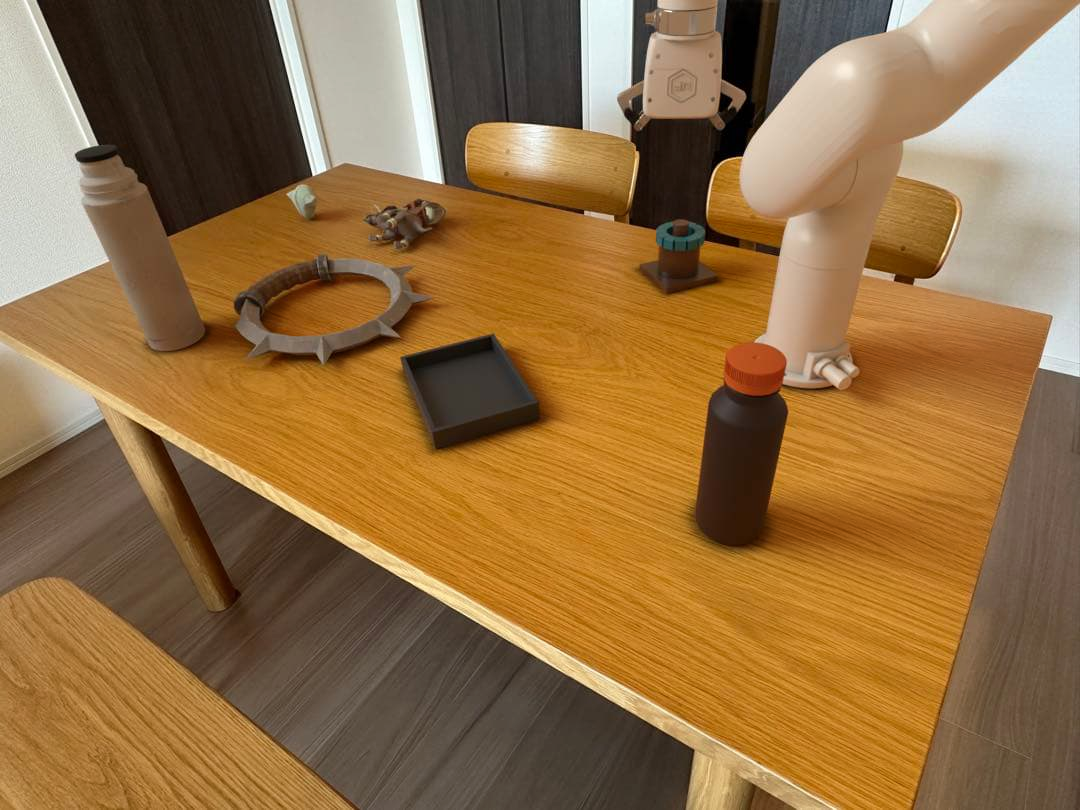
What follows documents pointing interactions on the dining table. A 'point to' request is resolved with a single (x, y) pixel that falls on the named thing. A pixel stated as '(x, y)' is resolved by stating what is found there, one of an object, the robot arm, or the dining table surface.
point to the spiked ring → (322, 268)
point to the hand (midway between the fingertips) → (676, 155)
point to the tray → (468, 390)
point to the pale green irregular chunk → (304, 200)
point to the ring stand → (678, 266)
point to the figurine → (405, 221)
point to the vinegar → (742, 445)
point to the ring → (680, 243)
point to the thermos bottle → (138, 249)
